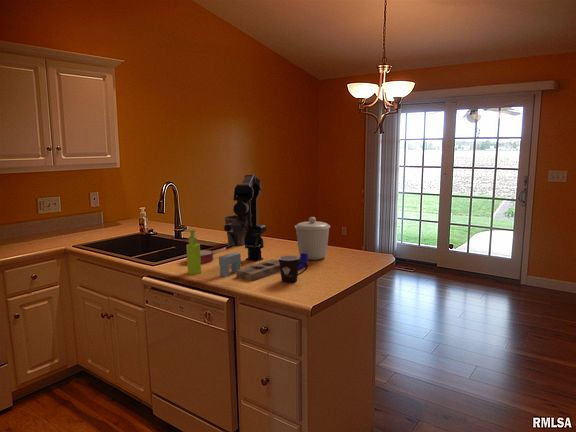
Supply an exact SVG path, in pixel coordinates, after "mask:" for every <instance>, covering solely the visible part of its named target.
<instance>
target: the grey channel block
mask: <svg viewBox="0 0 576 432" xmlns="http://www.w3.org/2000/svg"><path fill="white" fill-rule="evenodd" d="M241 257H242V255H241V253H238V252H233V253H229V254H228V253H227V254H226V255H222V256H221V255H220V256H218V265H219V276H221V277H224V278H226V277H229V276H230V268H231V273H234V274H236V270H239V269H241ZM230 265H231V267H230Z"/></svg>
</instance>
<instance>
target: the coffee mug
mask: <svg viewBox="0 0 576 432" xmlns="http://www.w3.org/2000/svg"><path fill="white" fill-rule="evenodd" d="M278 260H279V264H280V276H281V277H280V279H281V282H282V283H284V284H294V283H297V281H298V277H299V275H301V274H303V273H304V272H306V270H308V267H309V266H307V264H306V263H305V262H299V260H300V256H297V255H282V256H279V257H278ZM301 263H304V264H305V265H306V267H305V269H304V270H301V272H299V271H298V267H299V265H300V264H301Z"/></svg>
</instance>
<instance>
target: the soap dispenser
mask: <svg viewBox="0 0 576 432" xmlns="http://www.w3.org/2000/svg"><path fill="white" fill-rule="evenodd" d="M182 232H183V233H188V232H190V236H189V237H188V243H187V244H186V246H185V247H186V262H187V274H188V275H199V274H201V273H202V264H201V260H200V250H201V244H200V243H198V241H197V236H196V235H195V232H197V230H196V229H191V228H190V229H186V230H185V229H184V230H183V231H182Z"/></svg>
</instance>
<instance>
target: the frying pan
mask: <svg viewBox="0 0 576 432" xmlns="http://www.w3.org/2000/svg"><path fill="white" fill-rule="evenodd" d="M238 244H241V241H238ZM233 247H236V246H235V243H234V244H231V245H229V244H228V245H227V246H224V247H223V248H221V249H219V250H216V251H214V252H213V250H210V249H209V250H208V249H200V260H201V265H204V264H205V265H206V264H210V263H212V262H213V261H214V255H215V254H218V253H221V252H223V251H225V250H226V251H227V250H228V249H232V248H233Z"/></svg>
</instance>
